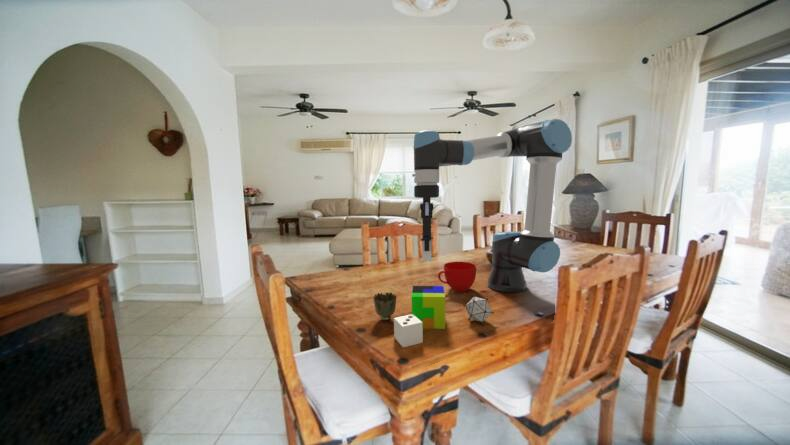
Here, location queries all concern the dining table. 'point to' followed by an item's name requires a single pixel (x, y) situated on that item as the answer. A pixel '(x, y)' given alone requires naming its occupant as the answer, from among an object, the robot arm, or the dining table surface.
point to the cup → (385, 305)
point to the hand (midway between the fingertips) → (426, 260)
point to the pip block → (408, 330)
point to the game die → (478, 309)
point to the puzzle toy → (429, 306)
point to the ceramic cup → (459, 275)
